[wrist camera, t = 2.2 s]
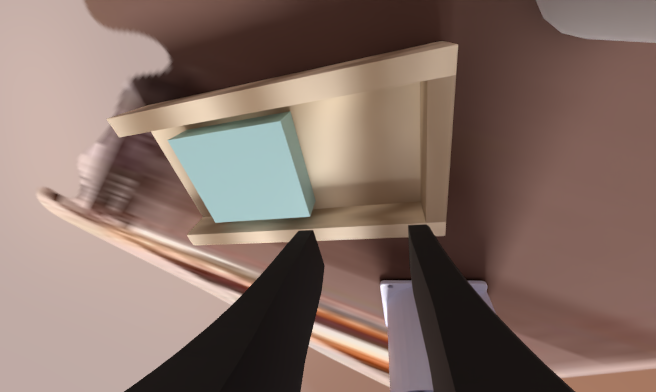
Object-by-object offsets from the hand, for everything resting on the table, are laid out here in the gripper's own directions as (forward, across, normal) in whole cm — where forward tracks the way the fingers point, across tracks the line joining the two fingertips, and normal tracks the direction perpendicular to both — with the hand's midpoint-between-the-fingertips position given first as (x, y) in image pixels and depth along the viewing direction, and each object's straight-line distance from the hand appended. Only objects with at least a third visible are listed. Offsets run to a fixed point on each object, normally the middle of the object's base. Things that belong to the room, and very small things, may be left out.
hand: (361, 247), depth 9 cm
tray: (+9, +6, 0) cm, 11 cm away
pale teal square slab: (+9, +8, 0) cm, 12 cm away
